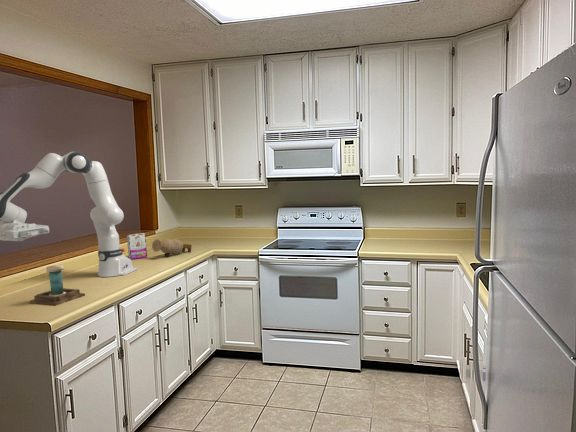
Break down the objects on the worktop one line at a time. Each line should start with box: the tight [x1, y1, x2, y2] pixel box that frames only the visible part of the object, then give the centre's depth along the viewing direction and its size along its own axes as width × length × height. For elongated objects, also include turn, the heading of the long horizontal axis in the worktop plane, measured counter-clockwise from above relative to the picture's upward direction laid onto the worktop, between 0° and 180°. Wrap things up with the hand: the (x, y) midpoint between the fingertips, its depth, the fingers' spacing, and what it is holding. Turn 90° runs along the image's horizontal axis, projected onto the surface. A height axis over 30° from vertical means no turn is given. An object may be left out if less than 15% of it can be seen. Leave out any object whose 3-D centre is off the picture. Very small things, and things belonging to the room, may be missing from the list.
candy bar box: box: [126, 232, 148, 261], centre depth 300 cm, size 11×5×16 cm, turn 126°
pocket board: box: [29, 287, 85, 306], centre depth 206 cm, size 16×16×3 cm
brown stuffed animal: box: [151, 238, 192, 258], centre depth 305 cm, size 10×12×30 cm
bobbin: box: [45, 264, 66, 296], centre depth 205 cm, size 7×7×14 cm
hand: (39, 232), depth 213 cm, fingers open, 8 cm apart
